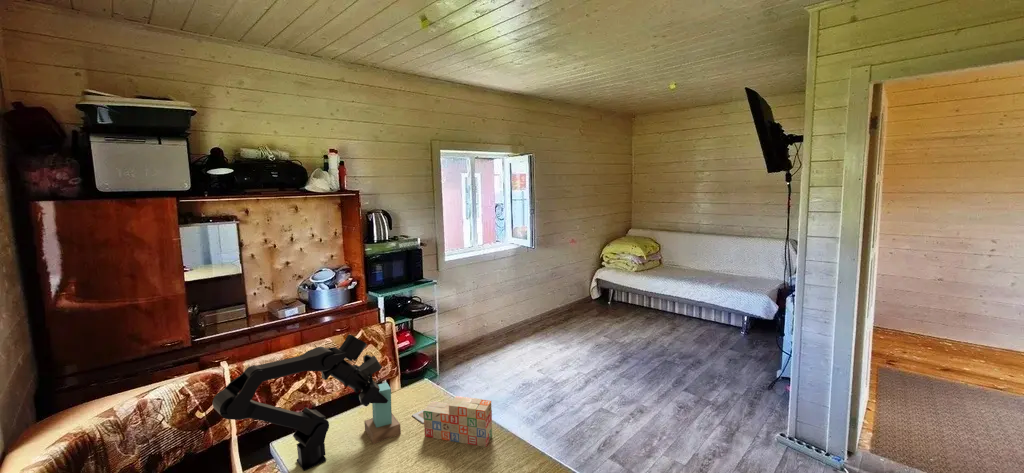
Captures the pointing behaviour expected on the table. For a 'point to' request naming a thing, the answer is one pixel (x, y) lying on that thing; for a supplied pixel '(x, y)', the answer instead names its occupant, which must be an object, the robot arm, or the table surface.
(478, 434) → the stack of blocks
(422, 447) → the table surface
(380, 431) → the walnut block
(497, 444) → the table surface
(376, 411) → the teal block
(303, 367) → the robot arm
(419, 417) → the card
